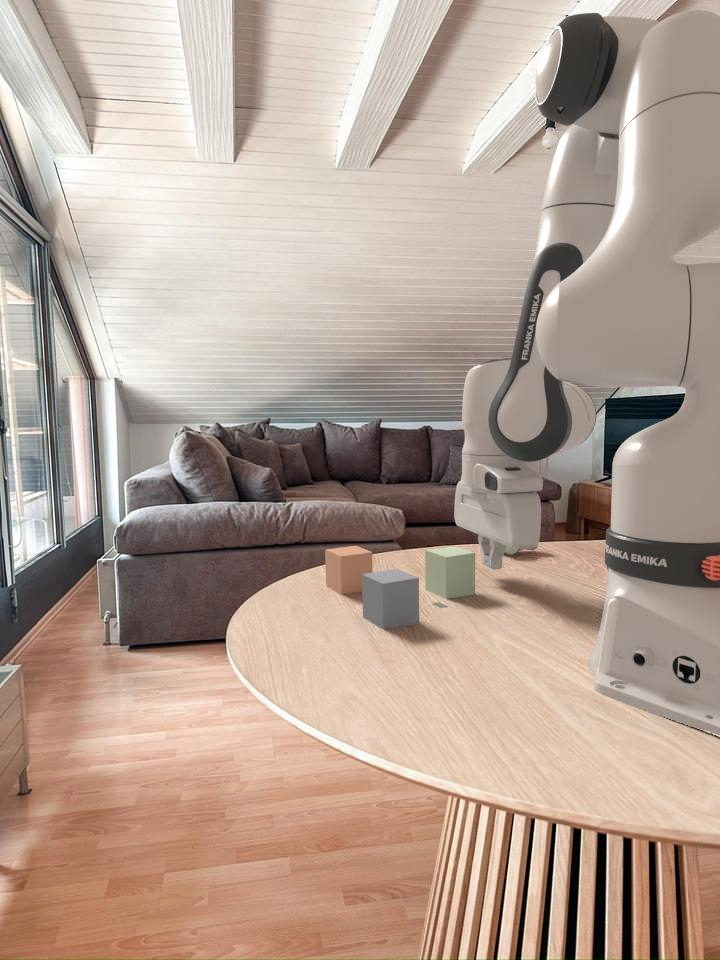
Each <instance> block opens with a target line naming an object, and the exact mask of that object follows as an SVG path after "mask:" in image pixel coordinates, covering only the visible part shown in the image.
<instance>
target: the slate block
mask: <svg viewBox="0 0 720 960" xmlns="http://www.w3.org/2000/svg"><path fill="white" fill-rule="evenodd" d="M362 588H363V592H362V617H363V618H364V619H365V620H367V621H369V622H370V623H371V624H373V625H376V626H377V627H379V628H381V629H382V630H389V629H394V628H400V627H405V626H413V625H416V624H417V625H418V624H420V577H418V576H416V575H413V574H411V573H408V572H406V571H403V570H401V569H398V568H395V569H389V570H387V569H386V570H381V571H375V572H374V571H373V573H368V574H362Z"/></svg>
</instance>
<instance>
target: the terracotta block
mask: <svg viewBox="0 0 720 960" xmlns="http://www.w3.org/2000/svg"><path fill="white" fill-rule="evenodd" d="M324 556H325V558H324V559H325V560H324V561H325V586H326V585H327V586H329V587H330V588H329V587H328V588H329V589H331V588H332V589H331V590H332V591H334V590H335V592H336V593H338V594H340V595H347V594H348V595H349V594H354V593H361V592H362V593H363V588H362V574H368V573H374V571H373V551H370V550H368V549H366V548H362V547H360V546H358V545H351V546H343V547H342V546H341V547H336V548H327V549H325V550H324ZM327 586H326V587H327Z"/></svg>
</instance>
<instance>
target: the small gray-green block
mask: <svg viewBox="0 0 720 960" xmlns="http://www.w3.org/2000/svg"><path fill="white" fill-rule="evenodd" d="M431 605H433V606H436V607H438V608H440V609H442V608H447V607H449V606H448V605H446V604H445V603H442V602H440V601H438V602H437V601H436V602H432V603H431Z"/></svg>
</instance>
